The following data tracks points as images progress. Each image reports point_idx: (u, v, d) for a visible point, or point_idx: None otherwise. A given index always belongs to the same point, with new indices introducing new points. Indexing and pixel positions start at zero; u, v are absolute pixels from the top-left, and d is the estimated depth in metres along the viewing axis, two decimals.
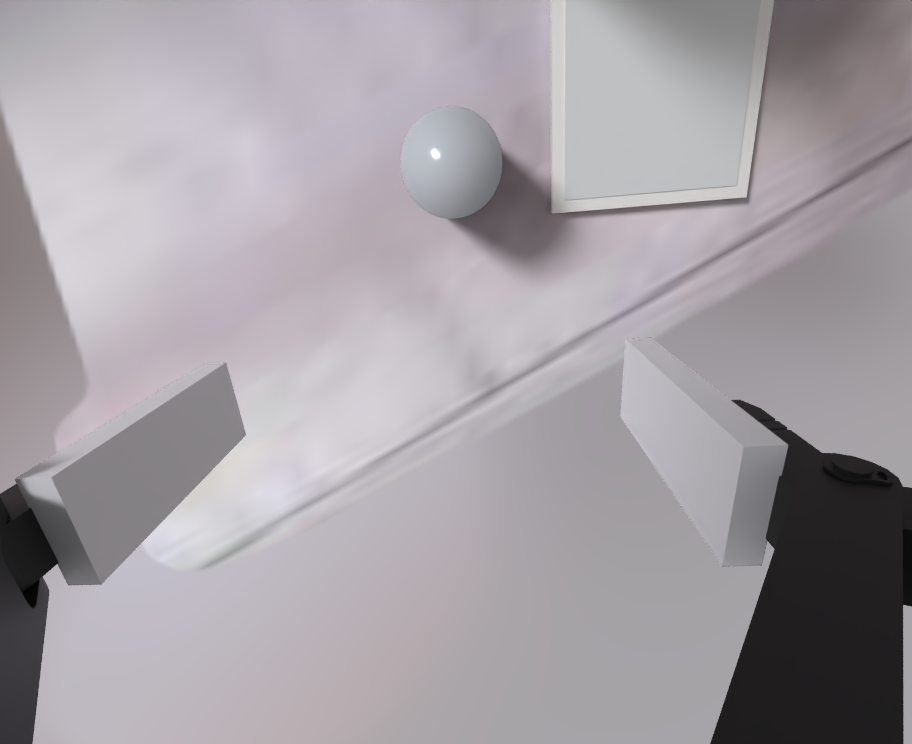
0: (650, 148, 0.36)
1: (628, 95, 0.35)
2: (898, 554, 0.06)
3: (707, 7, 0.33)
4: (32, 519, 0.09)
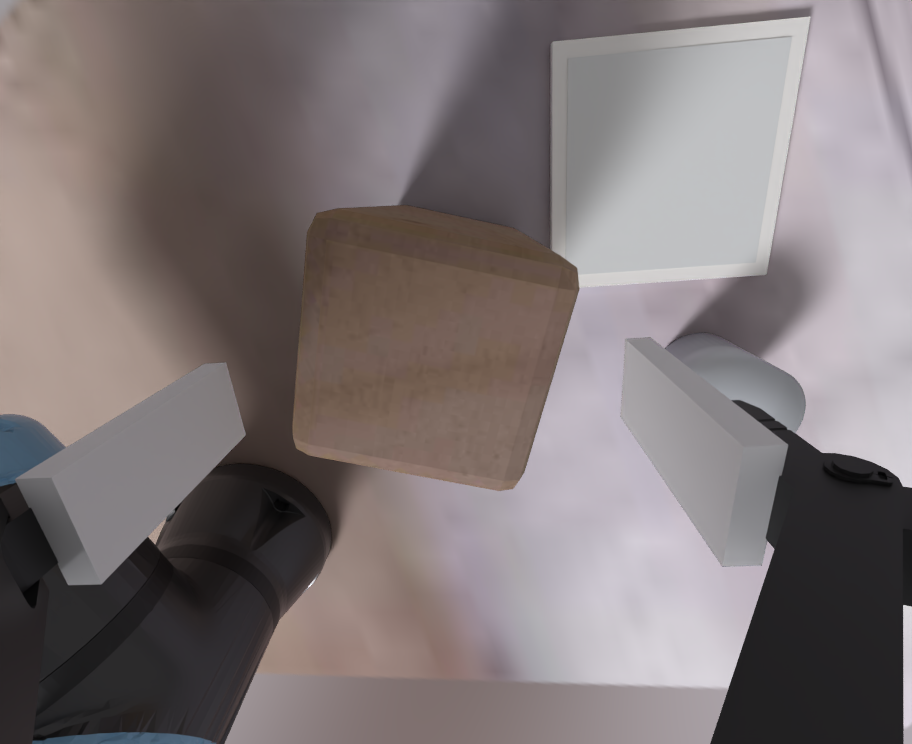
0: (721, 164, 0.31)
1: (661, 198, 0.32)
2: (898, 554, 0.06)
3: (591, 120, 0.30)
4: (32, 519, 0.09)
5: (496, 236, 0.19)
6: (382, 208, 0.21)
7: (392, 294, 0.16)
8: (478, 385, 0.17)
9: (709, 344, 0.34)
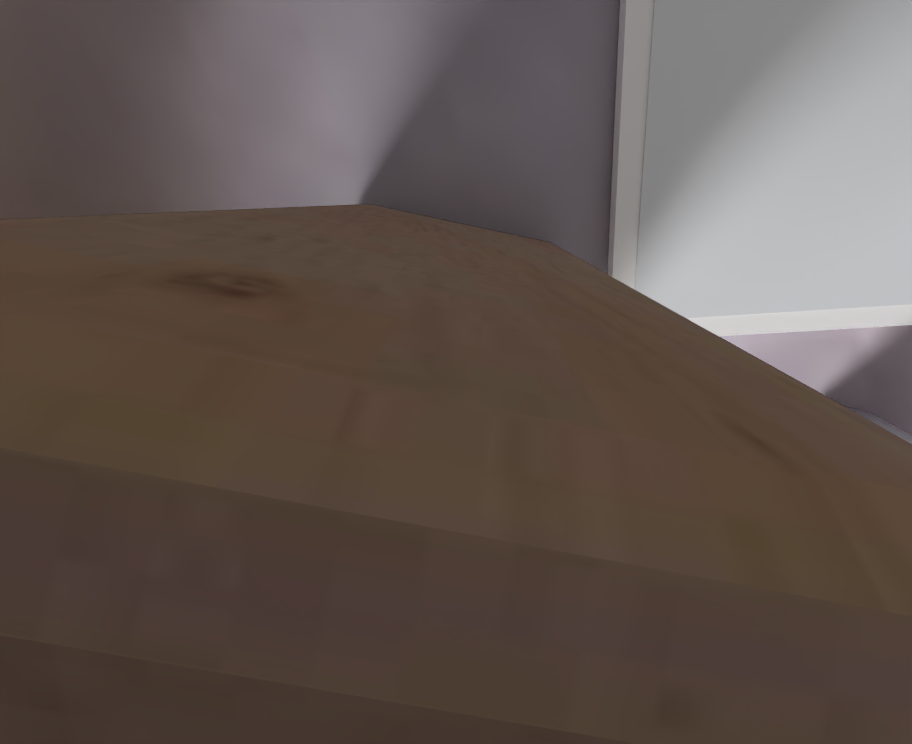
0: None
1: (805, 194, 0.19)
2: None
3: (694, 55, 0.17)
4: None
5: (572, 312, 0.06)
6: (250, 214, 0.08)
7: None
8: None
9: None
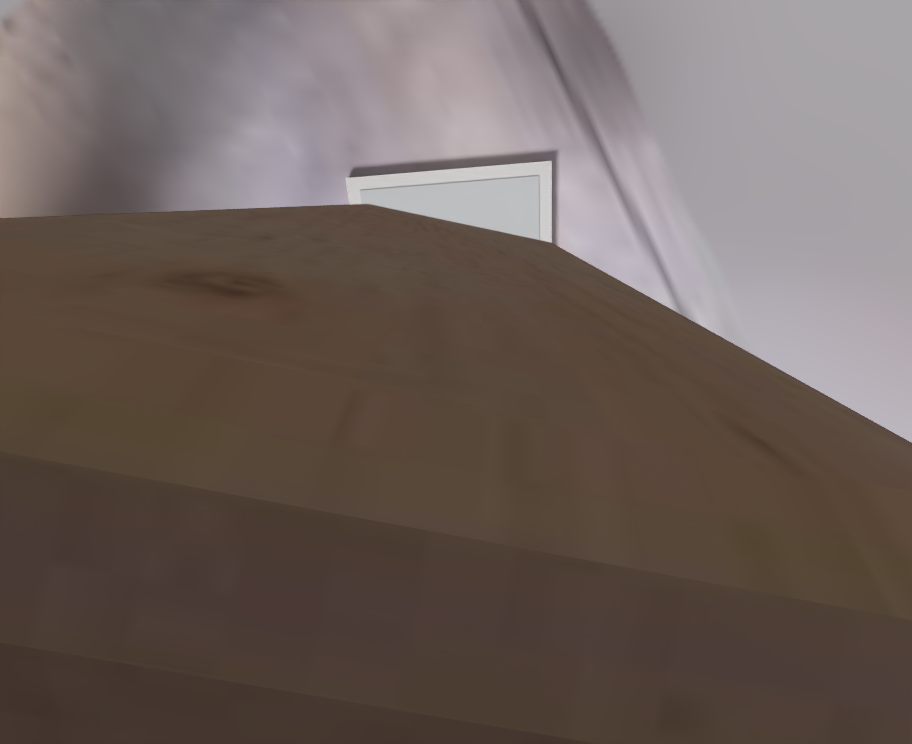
0: None
1: None
2: None
3: None
4: None
5: (572, 312, 0.06)
6: (250, 214, 0.08)
7: None
8: None
9: None
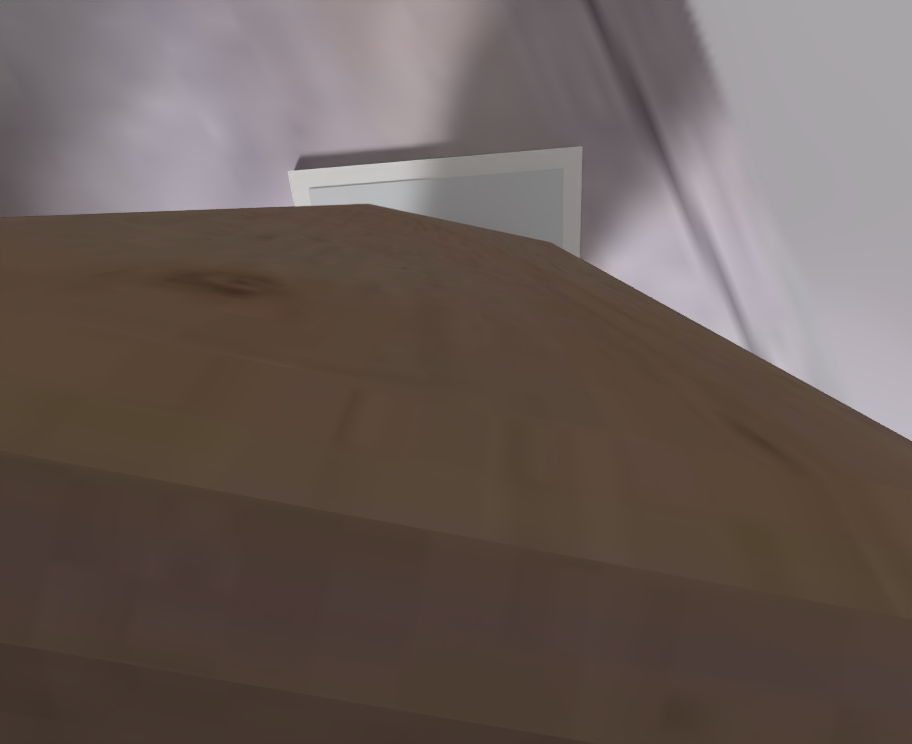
0: None
1: None
2: None
3: None
4: None
5: (573, 312, 0.06)
6: (250, 213, 0.08)
7: None
8: None
9: None
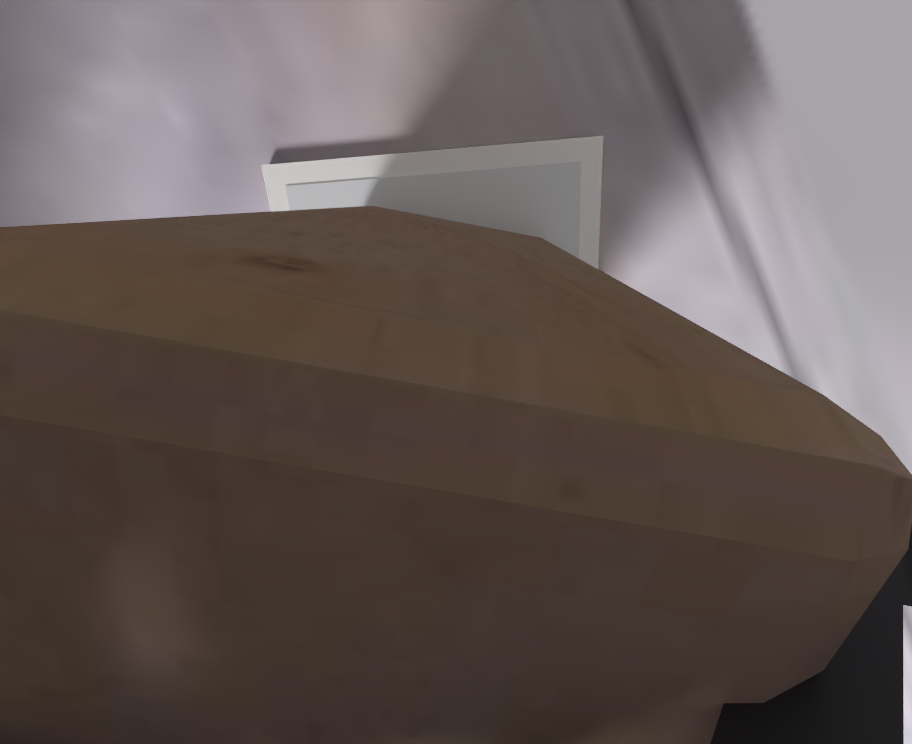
0: None
1: None
2: None
3: None
4: None
5: (541, 287, 0.07)
6: (276, 216, 0.10)
7: (157, 576, 0.04)
8: None
9: None
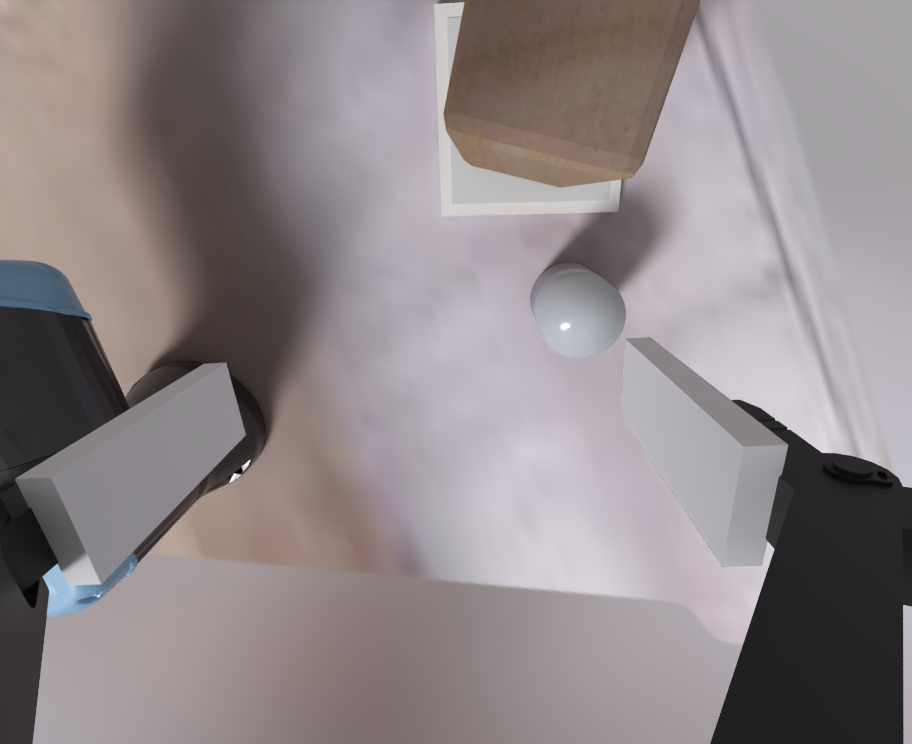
0: None
1: None
2: (898, 554, 0.06)
3: None
4: (32, 519, 0.09)
5: None
6: None
7: None
8: (620, 49, 0.19)
9: (567, 267, 0.40)
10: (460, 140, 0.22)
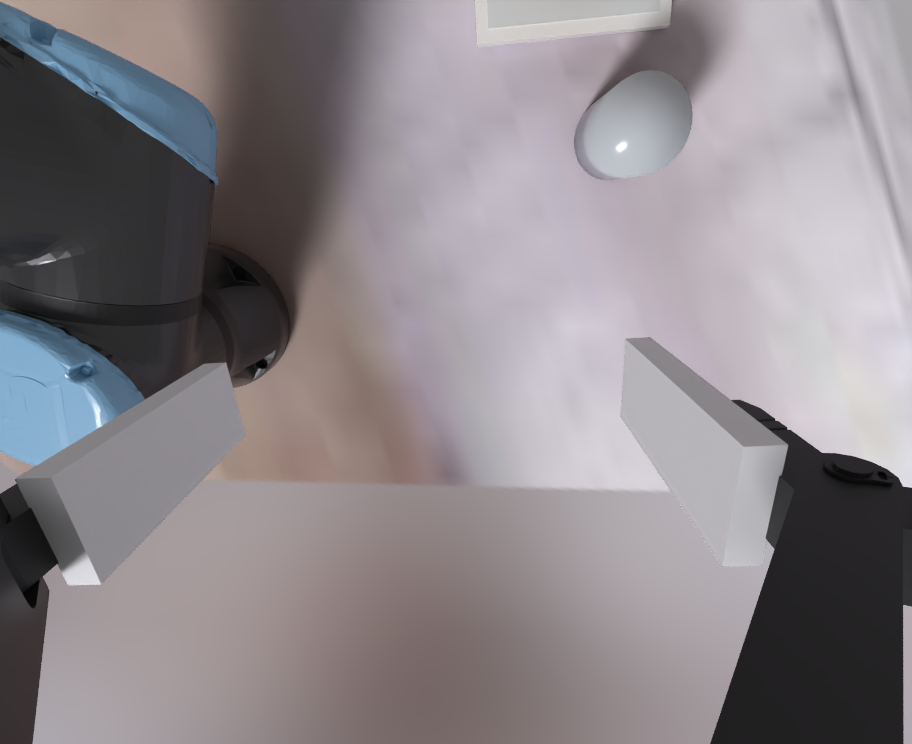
0: None
1: None
2: (898, 554, 0.06)
3: None
4: (32, 519, 0.09)
5: None
6: None
7: None
8: None
9: None
10: None
